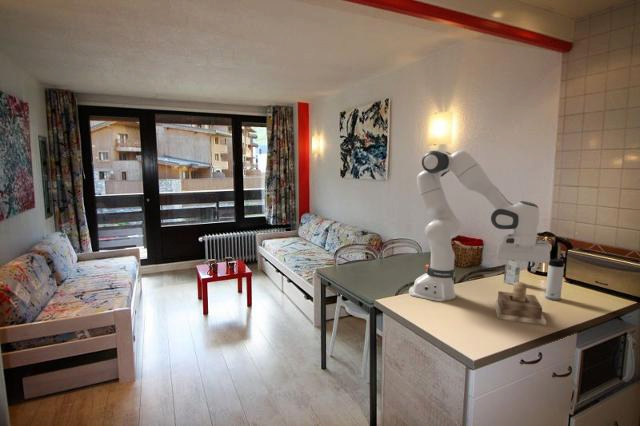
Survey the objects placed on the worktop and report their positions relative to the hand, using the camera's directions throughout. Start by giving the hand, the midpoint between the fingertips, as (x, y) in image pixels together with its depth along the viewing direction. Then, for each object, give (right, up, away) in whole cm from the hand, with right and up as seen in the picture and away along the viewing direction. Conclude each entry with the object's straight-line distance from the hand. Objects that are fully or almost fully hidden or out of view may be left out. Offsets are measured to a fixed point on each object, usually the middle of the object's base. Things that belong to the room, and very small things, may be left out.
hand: (520, 270), depth 160 cm
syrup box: (+18, -14, +42) cm, 47 cm away
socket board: (0, -19, +3) cm, 20 cm away
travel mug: (+27, -17, +20) cm, 37 cm away
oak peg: (0, -18, +3) cm, 18 cm away
